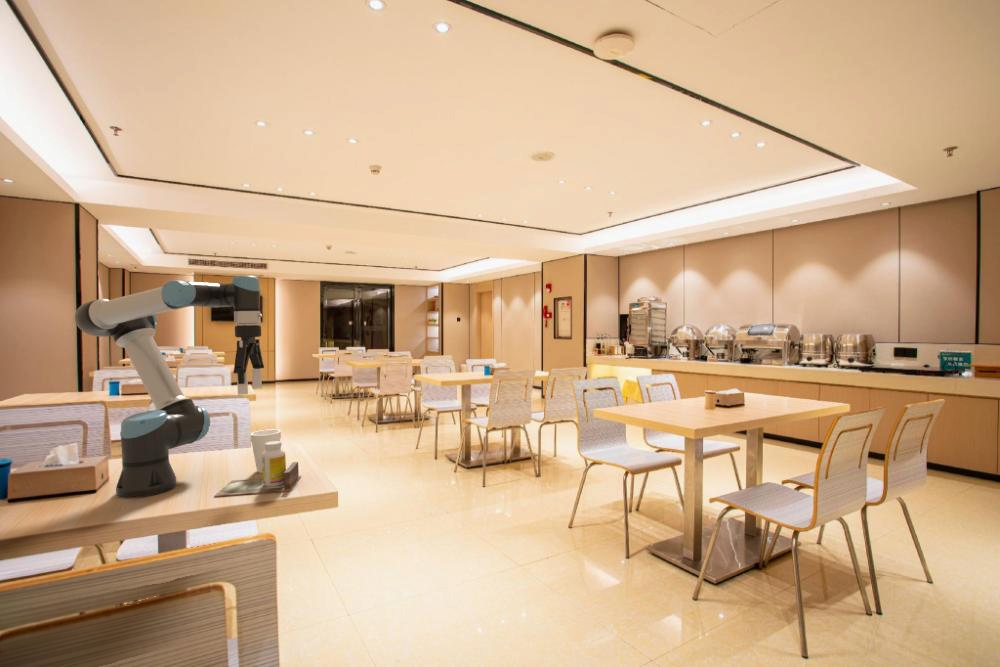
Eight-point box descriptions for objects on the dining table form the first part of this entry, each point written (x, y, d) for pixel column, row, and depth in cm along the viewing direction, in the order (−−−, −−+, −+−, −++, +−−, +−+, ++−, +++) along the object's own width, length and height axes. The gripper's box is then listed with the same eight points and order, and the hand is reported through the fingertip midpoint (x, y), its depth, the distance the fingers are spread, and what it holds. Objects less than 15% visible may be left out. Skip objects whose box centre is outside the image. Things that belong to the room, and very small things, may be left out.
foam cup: (273, 474, 165) (272, 435, 164) (246, 474, 165) (245, 435, 165) (286, 465, 174) (285, 429, 174) (260, 466, 174) (259, 429, 174)
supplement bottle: (291, 481, 155) (289, 440, 155) (276, 488, 149) (274, 445, 149) (273, 479, 157) (271, 439, 157) (257, 486, 151) (256, 444, 150)
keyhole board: (214, 497, 144) (213, 478, 144) (231, 481, 158) (231, 465, 157) (290, 491, 147) (289, 473, 147) (301, 476, 161) (300, 460, 161)
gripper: (247, 324, 145) (249, 396, 146) (271, 324, 170) (274, 385, 171) (219, 325, 144) (222, 397, 145) (248, 324, 169) (250, 386, 169)
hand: (250, 391), depth 158 cm, fingers open, 13 cm apart
